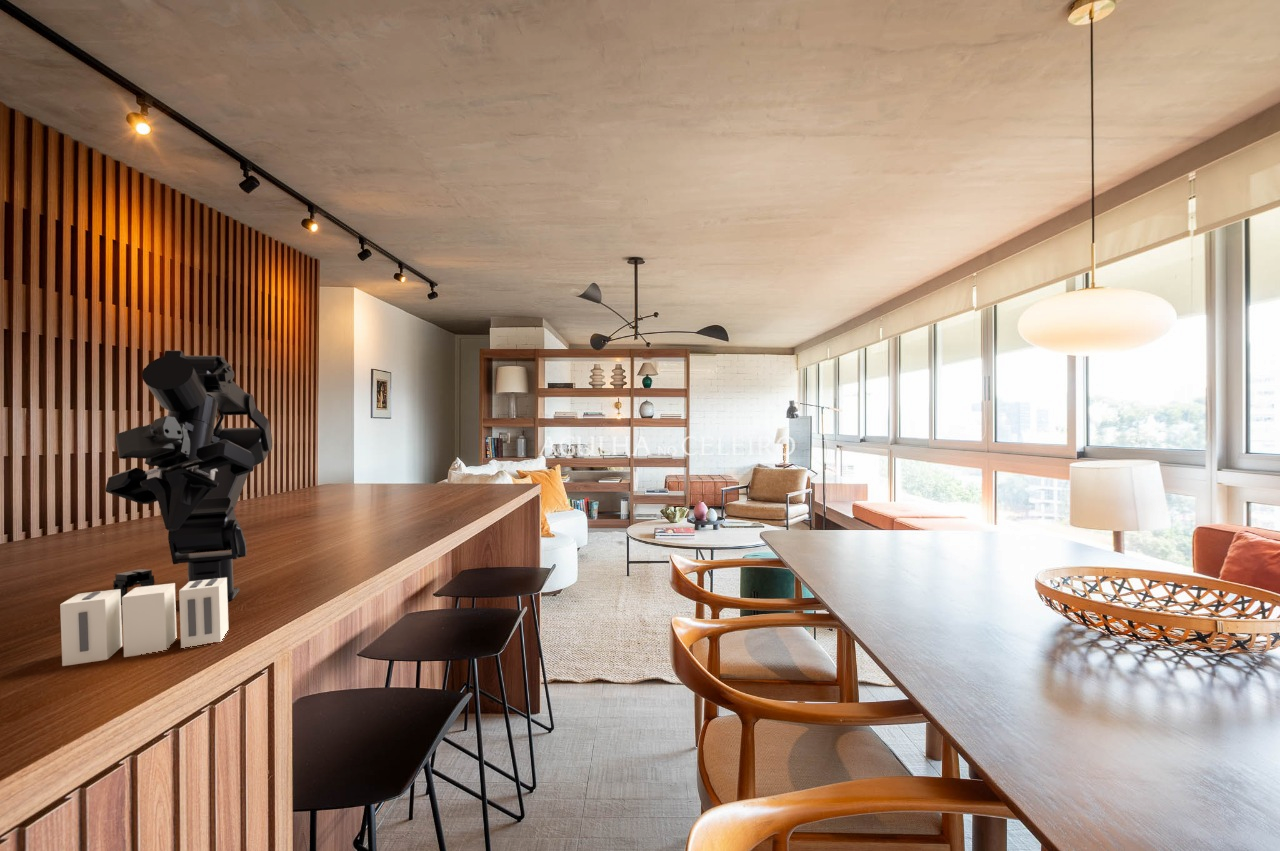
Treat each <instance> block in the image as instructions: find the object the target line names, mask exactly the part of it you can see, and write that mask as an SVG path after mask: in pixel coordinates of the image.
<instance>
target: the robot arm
mask: <svg viewBox="0 0 1280 851" xmlns="http://www.w3.org/2000/svg"><path fill="white" fill-rule="evenodd" d="M141 372H142V373H141V377H142V380H143V382H144V384H145V385H146V386H147V388H148V389H149V391H150V392H151V394H152V395H153V397H154V398H155V399H156V401H157V402H158V403H159V405H160V407H161V408H163V409H165V410H167V411H168V413H167V415H165V416H162V417H159V418H155V419H154V421H153V423H151V424H147V425H142V426H137V427H133V428H131V429H127V430H125V431H121V432H118V433H116V434H115V441H116V447H117V454H118V458H119V460H120V459H121V460H126V459H128V458H129V459H145V460H144V464H145V465H148V466H150V467H154V468H151V469H148V470H144V469H141V468H138V467H134V468H130V469H128V470H125V471H122V472H118V473H116V474H114V475H111V476H109V477H108V479H107V482H106V486H105V492H106V493H107V494H111V495H114V496H117V497H119V498H123V499H126V500H129V501H132V502H134V503H137V504H139V505H140V504H141V505H149V504H152V503H155V502H158V506H159V509H160V512H161V516H162V520H163V523H164V524H163V525H164V527H165V529H166V530H167V531H168V535H167V539H168V545H169V550H170V551H169V552H170V555H171V559H172V560H171V562H172V565H179V564H186V563H187V578H188V580H187V581H188V582H187V583H189V582H190V581H199V580H208V579H217V578H227V597H228V601H232V600H234V598H236V596H237V594H238V593H239V592H240V587H234V571H233V570H234V569H233V568H234V567H233V564H234V563H233V560H238V559H239V558H244V557H247V555H248V554H247V553H248V552H247V544H246V543H247V541H246V538H245V536H244V531H243V529H242V528H241V525H240V522H239V520H238V519H237V516H236V512H235V508H236V506H237V503H238V501H239V498H240V495H241V493H242V491H243V489H244V485H245V484H246V480H247V479H248V476H249V474H250V473H252V472H254V470H255V469H254V467H256V466H257V465H260V464H262V463H264V462H265V460H266V459H267V457H268V456H269V452H272V450H273V436H272V431H271V430H272V429H271V425H270V421H269V419H268V418H267V417H266V416H265V415H264V414H263V413H262V412H261V411H260V410H259V409H258V408H257V407H256V402H255V398H254V396H253V394H252V393H251V394H250V393H248V392H246V391H245V390H244V389H242V388H241V387H240V386H239V385H238V384H237V383H236V382H235V381H233V379H235V371H234V370H233V367H232V366H231V364H230V363H229V362H228V361H227V360H226V358H225V357H224V356H223V355H185V353H184V352H183V350H164V354H163V356H161V357H158V358H156V359H153V361H152V360H151V362H149V363H148V364H147V365H146V366H145V367H144V368H143V370H142V371H141ZM225 416H248V419H249V420H250V421H251V422H252V423H253V424H254V425H255V426H256V427H225V428H223V425H222V422H223V420H224V418H225ZM218 417H219V418H218ZM217 418H218V420H217V422H216V419H217Z"/></svg>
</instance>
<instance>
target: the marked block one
mask: <svg viewBox="0 0 1280 851" xmlns="http://www.w3.org/2000/svg"><path fill="white" fill-rule="evenodd" d="M59 606H60V607H59V608H60V610H59V611H60V634H61V635H60V636H61V666H62V667H65V666H73V665H78V664H87V663H91V662H93V663H94V662H99V661H106V660H109V659H110V658H111V657H112V656H113V655H114V654H115V653H116V652H118V650H120V649H121V648H122V647H123V618H122V605H121V589H116V590H114V589H108V590H99V591H90V592H82V593H77V594H75V595H73V596H71V597H70V598H68V599H67V600H65V601H64V602H62V603H61V604H60V605H59Z"/></svg>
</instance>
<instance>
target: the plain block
mask: <svg viewBox="0 0 1280 851" xmlns="http://www.w3.org/2000/svg"><path fill="white" fill-rule="evenodd" d="M128 592H129V593H128ZM128 592H127V594H126V595H124V596H123V597H122V605H121V613H122V644H123V658H127V657H135V656H140V655H141V654H142V655H147V654H146V653H149V654H153V653H152V652H156V653H159V652H158V651H162V652H164V651H163V650H167V651H168V649H169V648H170V647H171V646H172V645H173V643H174V642H175V641H176V640H177V639H176V638H178V636H177V635H178V634H177V610H176V609H177V607H176V583H175V582H173V583H163V584H154V585H153V586H144V587H141V586H137V587H133V588H132V589H131V590H130V591H128ZM175 639H176V640H175ZM171 644H172V645H171ZM170 645H171V646H170ZM167 648H168V649H167Z"/></svg>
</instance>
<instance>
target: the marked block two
mask: <svg viewBox="0 0 1280 851" xmlns="http://www.w3.org/2000/svg"><path fill="white" fill-rule="evenodd" d="M178 595H179V596H178V598H179V601H178V602H179V627H180V630H179V631H180V649H181V648H184V649H186V648H185V647H190V646H191V647H190V648H193V647H192V646H197V645H202V644H207V643H213V642H221V641H222V642H223V640H224V639H225V637H226V636H225V634H226V633H227V631H228V630H230V629H229V600H228V597H227V578H217V579H208V580H199V581H190V582H189V583H188V582H187V583H186V584H185V585H184V586H183V587H182V588H180V589H179V591H178ZM228 632H229V631H228ZM227 634H228V633H227ZM227 634H226V635H227ZM224 636H225V637H224ZM223 638H224V639H223ZM222 639H223V640H222ZM222 642H221V643H222ZM197 647H198V646H197Z"/></svg>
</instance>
